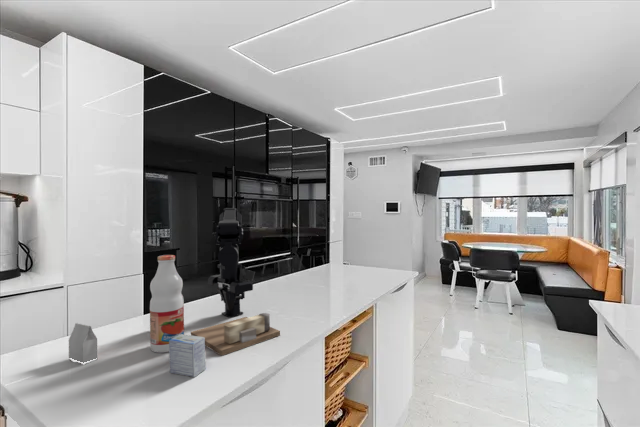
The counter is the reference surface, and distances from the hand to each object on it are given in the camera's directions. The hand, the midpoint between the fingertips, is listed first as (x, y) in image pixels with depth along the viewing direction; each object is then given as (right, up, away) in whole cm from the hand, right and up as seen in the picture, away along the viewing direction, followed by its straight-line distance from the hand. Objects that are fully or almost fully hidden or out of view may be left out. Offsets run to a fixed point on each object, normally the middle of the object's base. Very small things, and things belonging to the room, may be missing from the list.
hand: (229, 309), depth 103 cm
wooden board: (+1, -10, +4) cm, 11 cm away
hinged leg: (+6, -8, 0) cm, 10 cm away
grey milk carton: (-38, -11, -13) cm, 41 cm away
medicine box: (-5, -10, -20) cm, 23 cm away
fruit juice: (-18, -10, -4) cm, 21 cm away
